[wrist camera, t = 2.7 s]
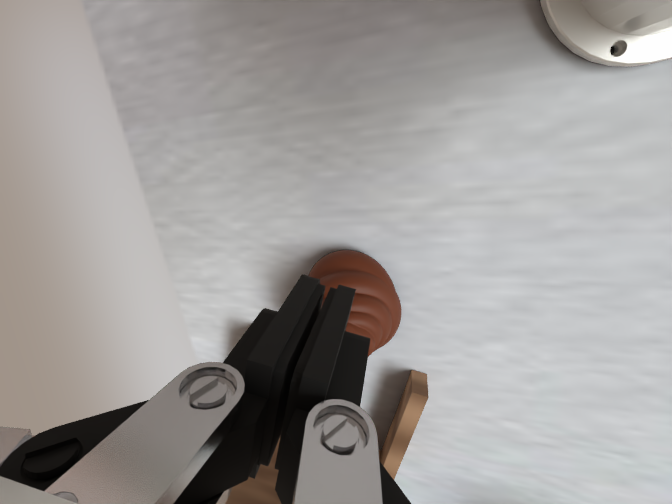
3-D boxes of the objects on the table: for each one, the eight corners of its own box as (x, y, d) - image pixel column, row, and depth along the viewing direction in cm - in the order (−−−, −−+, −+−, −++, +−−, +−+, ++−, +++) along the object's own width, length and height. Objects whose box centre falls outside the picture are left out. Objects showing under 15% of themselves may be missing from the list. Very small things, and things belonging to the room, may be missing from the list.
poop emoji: (415, 329, 32) (417, 406, 24) (333, 348, 35) (309, 424, 26) (377, 233, 29) (364, 282, 21) (291, 262, 32) (249, 316, 24)
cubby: (254, 323, 35) (172, 435, 23) (426, 374, 34) (437, 524, 21) (243, 415, 41) (172, 545, 29) (391, 463, 39) (382, 623, 27)
